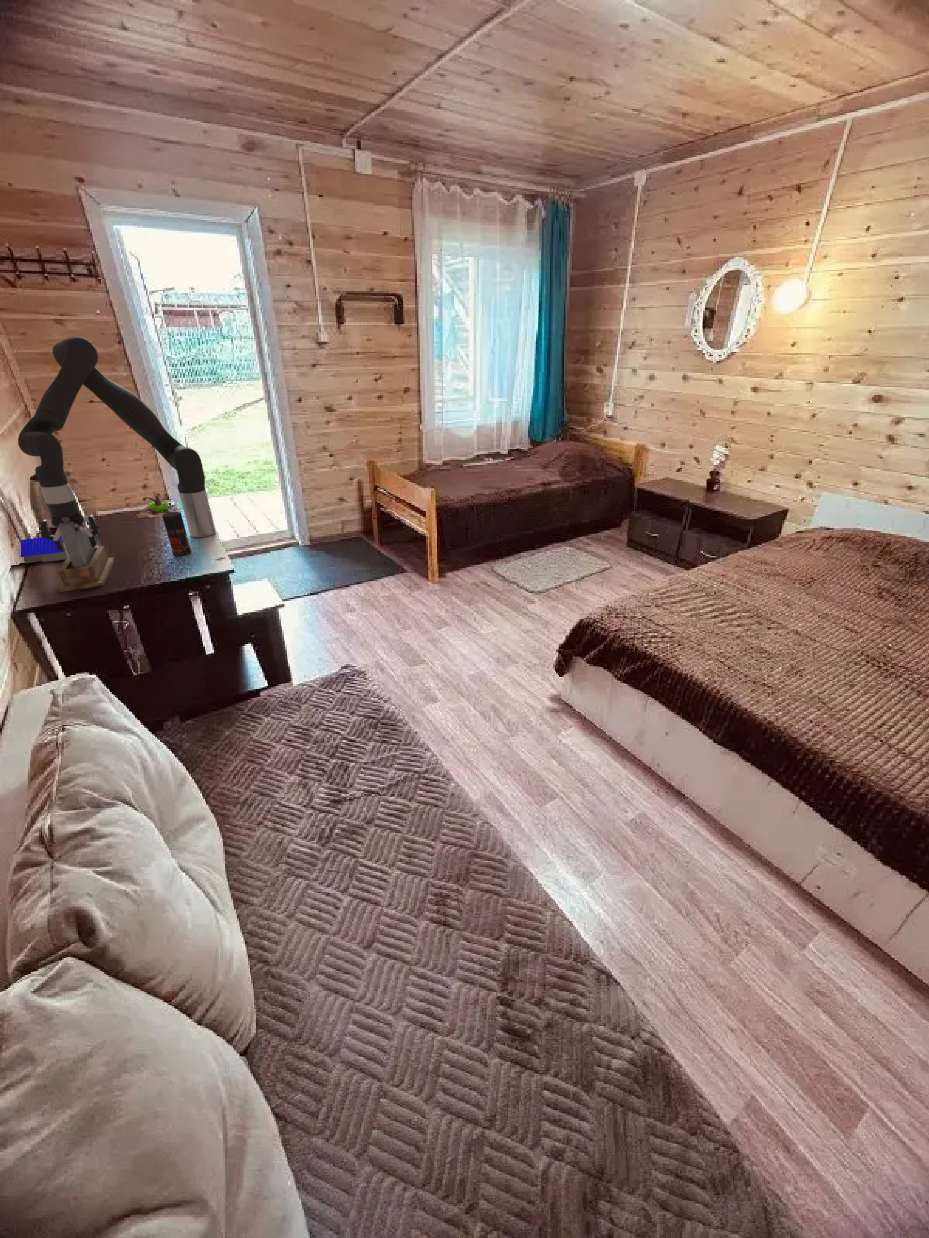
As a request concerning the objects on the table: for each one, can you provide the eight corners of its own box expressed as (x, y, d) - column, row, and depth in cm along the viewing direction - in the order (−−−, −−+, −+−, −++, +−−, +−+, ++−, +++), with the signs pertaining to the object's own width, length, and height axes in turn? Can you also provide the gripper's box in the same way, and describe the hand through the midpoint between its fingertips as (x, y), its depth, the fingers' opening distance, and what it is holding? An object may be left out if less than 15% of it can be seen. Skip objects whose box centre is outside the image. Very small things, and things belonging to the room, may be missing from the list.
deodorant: (172, 553, 190) (161, 513, 183) (190, 550, 193) (180, 510, 186) (174, 558, 185) (162, 517, 178) (192, 555, 188) (181, 515, 181)
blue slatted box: (76, 547, 196) (69, 528, 193) (67, 560, 185) (60, 540, 182) (6, 555, 189) (-3, 536, 186) (-8, 569, 178) (-18, 549, 174)
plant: (135, 525, 220) (126, 499, 215) (136, 513, 236) (128, 489, 230) (187, 518, 229) (180, 493, 223) (185, 507, 244) (178, 483, 239)
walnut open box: (114, 560, 184) (108, 543, 182) (103, 585, 165) (97, 568, 162) (74, 565, 180) (68, 548, 177) (58, 592, 161) (51, 574, 158)
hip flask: (88, 580, 166) (66, 519, 157) (74, 582, 165) (50, 521, 156) (99, 562, 179) (79, 505, 170) (86, 564, 178) (64, 507, 169)
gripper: (89, 494, 166) (106, 542, 174) (35, 499, 161) (55, 548, 169) (84, 499, 160) (102, 549, 168) (29, 505, 155) (49, 556, 163)
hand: (78, 549), depth 168 cm, fingers open, 8 cm apart
